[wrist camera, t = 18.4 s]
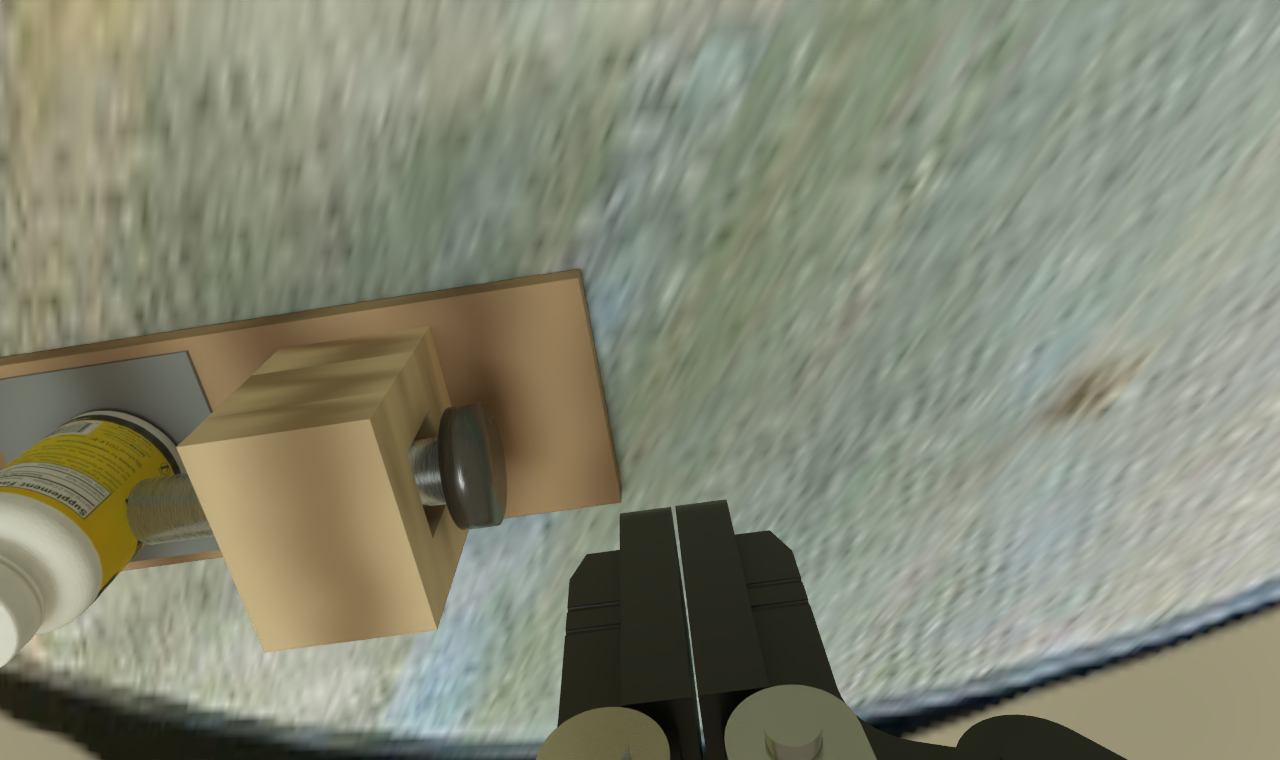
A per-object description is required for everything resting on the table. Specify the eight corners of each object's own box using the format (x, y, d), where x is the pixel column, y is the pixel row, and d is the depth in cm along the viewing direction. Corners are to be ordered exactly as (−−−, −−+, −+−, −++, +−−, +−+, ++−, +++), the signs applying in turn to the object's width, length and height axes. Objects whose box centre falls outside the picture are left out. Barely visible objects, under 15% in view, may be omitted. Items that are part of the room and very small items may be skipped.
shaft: (200, 527, 33) (140, 598, 29) (157, 430, 31) (87, 492, 27) (512, 484, 32) (495, 551, 28) (486, 382, 31) (464, 438, 27)
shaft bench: (57, 565, 38) (-108, 723, 29) (-50, 365, 34) (-276, 482, 25) (621, 487, 36) (618, 630, 28) (580, 269, 32) (561, 359, 24)
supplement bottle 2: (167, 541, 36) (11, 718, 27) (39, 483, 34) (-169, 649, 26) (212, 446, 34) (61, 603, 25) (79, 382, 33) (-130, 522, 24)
